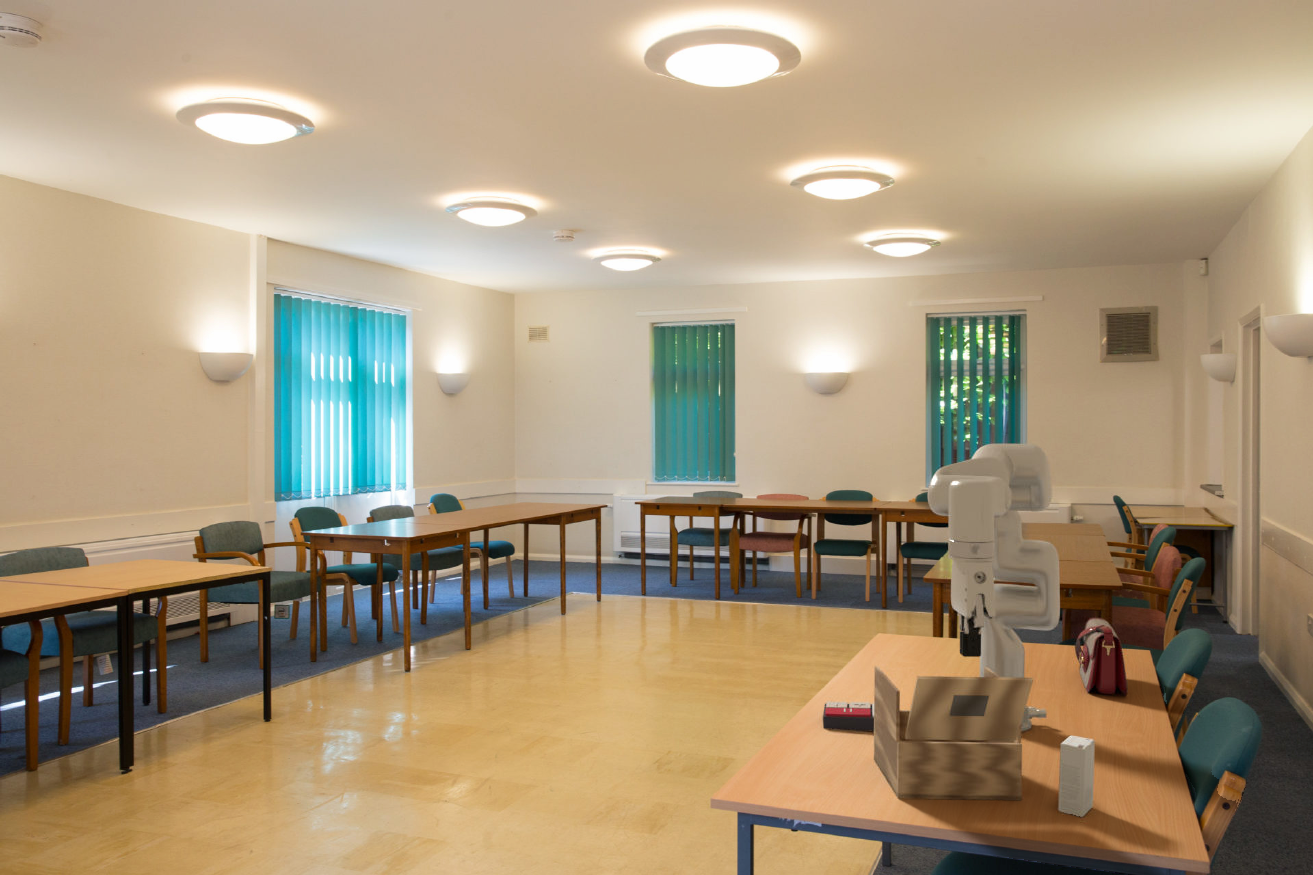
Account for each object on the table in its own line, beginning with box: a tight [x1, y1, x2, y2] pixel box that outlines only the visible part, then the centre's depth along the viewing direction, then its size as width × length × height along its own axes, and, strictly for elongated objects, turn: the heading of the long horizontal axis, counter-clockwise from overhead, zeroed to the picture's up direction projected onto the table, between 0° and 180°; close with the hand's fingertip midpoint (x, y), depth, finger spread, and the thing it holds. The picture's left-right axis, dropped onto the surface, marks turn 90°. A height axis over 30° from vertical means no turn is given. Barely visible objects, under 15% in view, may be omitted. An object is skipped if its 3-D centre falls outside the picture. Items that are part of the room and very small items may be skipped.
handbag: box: [1074, 617, 1129, 697], centre depth 243 cm, size 28×11×17 cm, turn 160°
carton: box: [873, 665, 1023, 801], centre depth 175 cm, size 22×20×19 cm
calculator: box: [822, 701, 874, 733], centre depth 209 cm, size 11×4×15 cm
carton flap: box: [905, 675, 1034, 741], centre depth 162 cm, size 20×15×1 cm
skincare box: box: [1057, 735, 1096, 818], centre depth 161 cm, size 6×4×12 cm
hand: (970, 655), depth 161 cm, fingers closed
